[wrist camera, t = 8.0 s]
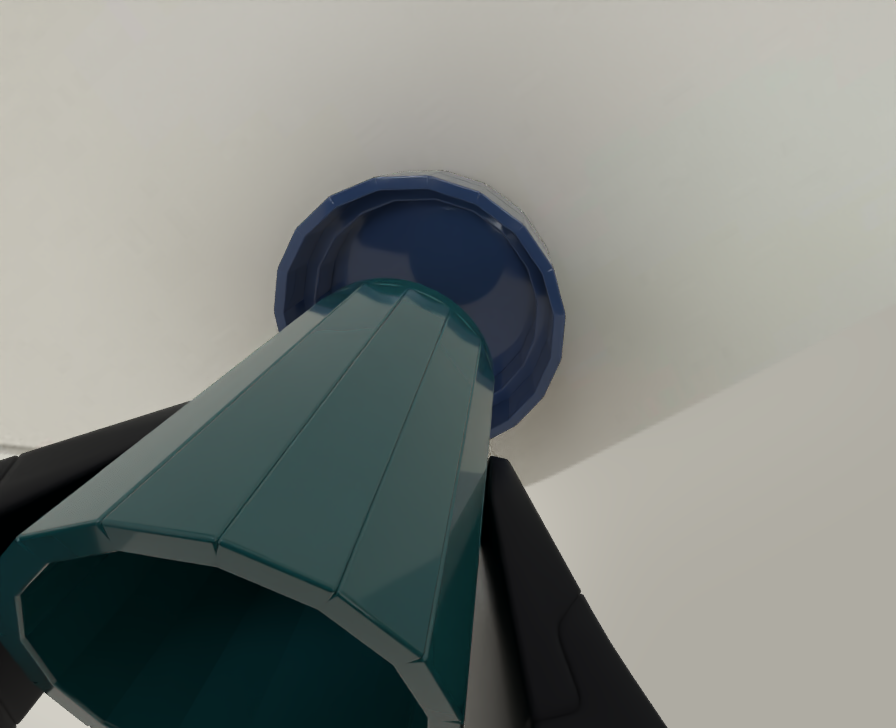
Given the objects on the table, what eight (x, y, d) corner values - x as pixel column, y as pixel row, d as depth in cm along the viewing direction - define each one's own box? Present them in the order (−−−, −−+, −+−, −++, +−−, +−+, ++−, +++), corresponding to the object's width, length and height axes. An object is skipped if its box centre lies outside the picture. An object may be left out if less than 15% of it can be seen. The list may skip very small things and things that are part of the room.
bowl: (579, 372, 19) (593, 421, 16) (376, 420, 22) (350, 471, 19) (514, 125, 15) (514, 118, 12) (276, 223, 18) (220, 241, 15)
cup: (518, 433, 12) (523, 819, 5) (352, 467, 14) (180, 801, 7) (454, 247, 10) (313, 477, 3) (265, 312, 12) (-121, 565, 5)
